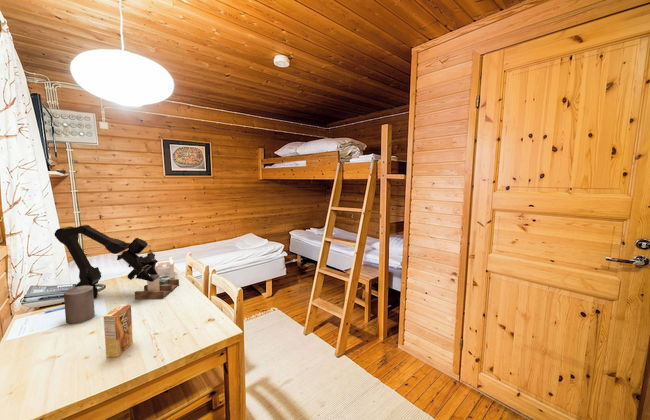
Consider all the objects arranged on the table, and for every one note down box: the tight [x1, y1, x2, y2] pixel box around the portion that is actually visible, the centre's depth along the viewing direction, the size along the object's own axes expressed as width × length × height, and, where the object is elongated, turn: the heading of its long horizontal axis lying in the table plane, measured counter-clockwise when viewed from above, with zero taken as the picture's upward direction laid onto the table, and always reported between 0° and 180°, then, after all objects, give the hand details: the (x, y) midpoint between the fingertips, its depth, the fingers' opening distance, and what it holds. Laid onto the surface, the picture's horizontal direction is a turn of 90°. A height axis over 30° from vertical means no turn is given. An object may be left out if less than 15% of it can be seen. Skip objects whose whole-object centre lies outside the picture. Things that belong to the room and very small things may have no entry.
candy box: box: [103, 304, 134, 358], centre depth 98 cm, size 9×4×15 cm, turn 6°
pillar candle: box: [63, 286, 96, 325], centre depth 119 cm, size 10×10×15 cm
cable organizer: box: [155, 256, 175, 279], centre depth 172 cm, size 15×11×12 cm
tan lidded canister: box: [146, 275, 160, 291], centre depth 145 cm, size 4×4×10 cm
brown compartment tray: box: [134, 278, 180, 300], centre depth 149 cm, size 14×18×5 cm
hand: (155, 279), depth 144 cm, fingers open, 5 cm apart
